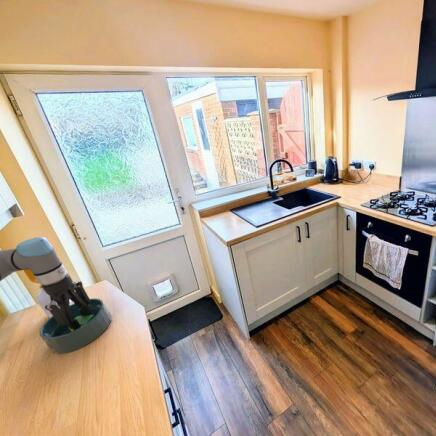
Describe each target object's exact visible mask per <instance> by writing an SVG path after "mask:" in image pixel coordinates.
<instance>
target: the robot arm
mask: <svg viewBox="0 0 436 436" xmlns="http://www.w3.org/2000/svg"><path fill="white" fill-rule="evenodd" d="M27 269H30V270H31V271H32V273H33V274H34V276H35V277H36V279H37V281H38V282H39V284H38V285H42V288H43V289H44V291H45V292H46V293H47V294H48V295H49V296H50V300H51V302H50V304H49V305H46V306H45V309H47V310H49V311H50V312H51V314H52V315H53V317H54V318H55V319H56V321H57V322H58V324H59V325H60V326H61V325H68V326H69V327H70V329H73V330H76V329H78V328H80V327H81V325H80V324H79V322H78V321H77V319H73V315H72V312H71V309H70V306H69V304H70V302H69V300H71V301H72V302H73V304H74V303H75V304H76V305H77V306H78V307H79V308H81V309H80V310H79V312H80V313H81V315H82V316H85V315H91V314H90V313H91V312H90V310H89V307H90V305H88V303H90V302H91V301H90V299H91V298H90V297H89V295H88V293H87V291H86V290H85V288H84V286H83V281H81V280H80V281H73V279H72V277H71V276H70V274H69V273H68V271H67V269H66V268H65V265H64V264H63V262H62V261H61V259H60V258H59V256H58V255H57V252H56V251H55V248H54V246H53V245H52V244H51V243H50V241H49V240H48V239H47V238H46V237H44V236H36V237H33V238H28V239H26V240H23V241H21V242H20V243H18V244H17V245H16V247H15V248H9V249H0V282H2V281H3V280H4V279H6V278H8V277H9V276H10V275H12V274H13V273H16V272H20V271H21V272H22V271H24V270H27ZM56 302H57V304H56ZM57 306H59V307H60V308H59V307H57Z"/></svg>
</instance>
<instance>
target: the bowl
mask: <svg viewBox="0 0 436 436" xmlns="http://www.w3.org/2000/svg"><path fill="white" fill-rule="evenodd" d="M89 299H90V301H91V302H90V303H88V305H90V307H89V310H90V312H91V313H90V314H91V315H94V316H95V317H94V318H93V319H91V320H90V321H89V322H88V323H86V324H85V325H83V326H82V327H80V328H78V329H76V330H74V331H71V330H70V328H69V327H68V325H61V326H60V325H59V324H58V322H57V321H56V319H55V318H54V317H53V316H52V317H51V318H49V317H48V319H47V320H46V321H45V322H44V323H43V324H42V325H41V327H40V329H39V337H40V338H41V340H42V341H43V342H44V344H45V345H46V346H47V348H48V349H49V350H50V351H51V352H52V353H53V354H67V353H71V352H74V351H77V350H78V349H80V348H83V347H85V346H86V345H88V344H90V343H92V342H93V341H94V340H96V339H97V338H98V337H100V336H101V334H103V333H104V332H105V331H106V329H108V327H109V325H110V324H111V321H112V315H111V314H110V312H109V310H108V308H107V305H105V303H104V301H103V300H102V299H100V298H95V297H94V298H89ZM70 309H71V312H72V315H73V319H75V318H76V317H77V316H82V315H81V313H80V312H79V310H80V309H81V308H79V307H78V306H77V305H76V304H75V303H74V302H73V304H72V305H70Z"/></svg>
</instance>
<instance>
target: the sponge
mask: <svg viewBox="0 0 436 436" xmlns="http://www.w3.org/2000/svg"><path fill="white" fill-rule="evenodd" d="M94 317H95V316H94V315H85V316H77V317H76V318H75V319H77V321H78V322H79V324H80V325H81V327H82V326H83V325H85V324H86V323H88V322H89V321H90V320H91V319H93V318H94ZM68 327H69V326H68ZM69 328H70V327H69ZM70 330H71V331H74V330H73V329H70Z"/></svg>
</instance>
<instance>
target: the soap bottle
mask: <svg viewBox="0 0 436 436" xmlns="http://www.w3.org/2000/svg"><path fill="white" fill-rule="evenodd" d="M23 272H24V273H25V274H24V275H26V277H27V278H28V280H29V281H30V282H31V283H35V284H38V285H39V286H38V287H39V289H40V290H41V291H40V292H39V293H38V294H37V296H36V298H35V299H36V302H37V303H38V305H39V306H40V308H41V309H42V311H43V312H44V314H45V315H46V316H47V317H48V319H49V318H51V317H52V316H53V315H52V314H51V312H50V311H49V310H47V309H45V306H46V305H49V304H50V302H51V300H50V296H49V295H48V294H47V293H46V292H45V291H44V289H43V288H42V285H41V284H39V282H38V281H37V279H36V277H35V276H34V274H33V273H32V271H31V270H30V269H27V270H23ZM69 302H70V304H69V306H70V305H72V304H74V302H73V301H71V300H69ZM56 304H57V302H56ZM57 307H59V306H57ZM59 308H60V307H59Z"/></svg>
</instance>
